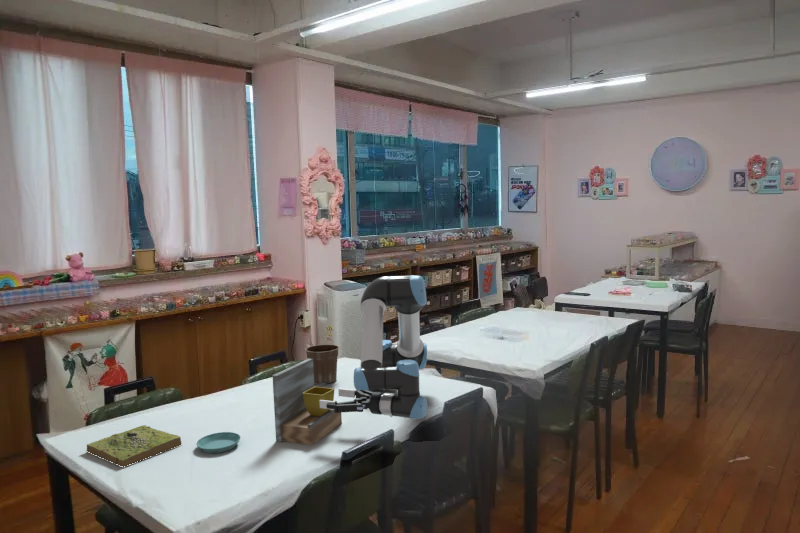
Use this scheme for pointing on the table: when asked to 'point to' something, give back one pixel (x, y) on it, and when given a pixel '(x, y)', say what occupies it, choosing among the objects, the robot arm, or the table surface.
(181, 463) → the table surface
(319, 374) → the plant pot
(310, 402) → the flower pot
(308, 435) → the book stand
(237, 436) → the saucer
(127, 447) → the miniature landscape model
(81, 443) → the table surface
